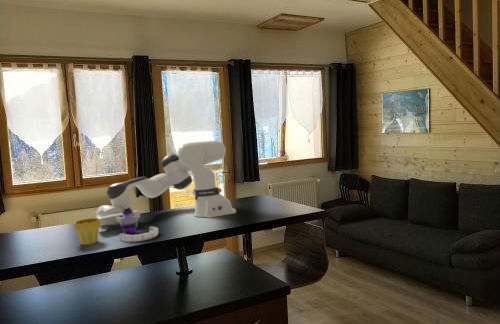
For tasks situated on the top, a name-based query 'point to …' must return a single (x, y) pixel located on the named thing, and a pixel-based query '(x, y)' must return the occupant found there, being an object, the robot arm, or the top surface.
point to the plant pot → (87, 230)
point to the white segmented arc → (140, 235)
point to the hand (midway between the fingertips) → (124, 219)
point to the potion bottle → (128, 222)
